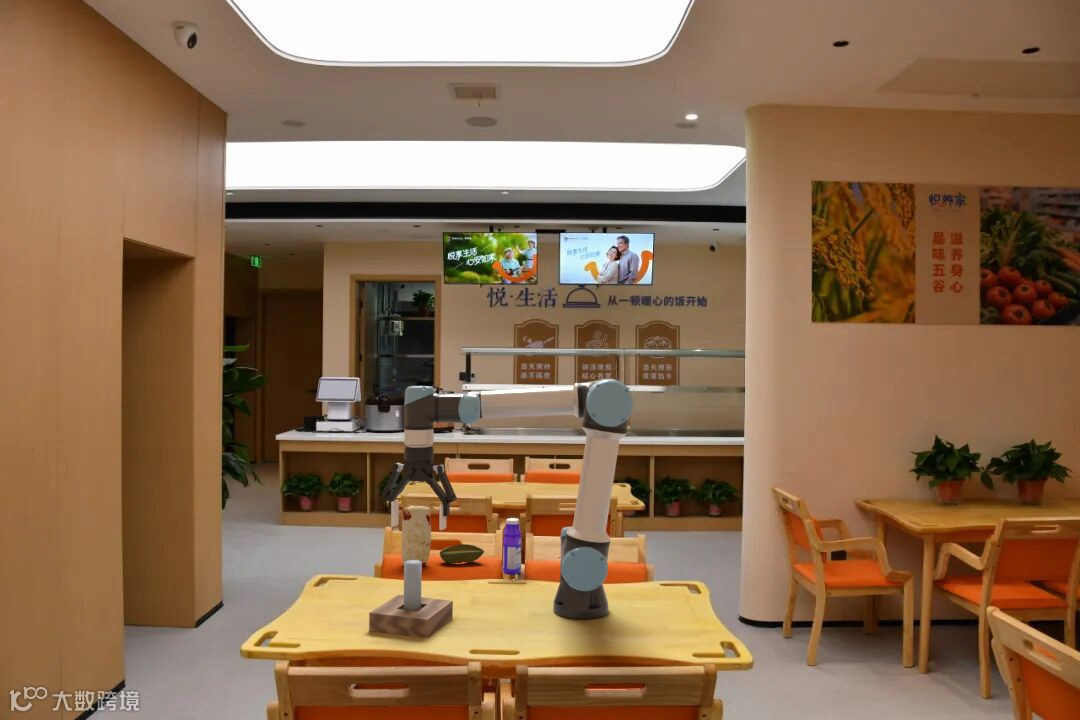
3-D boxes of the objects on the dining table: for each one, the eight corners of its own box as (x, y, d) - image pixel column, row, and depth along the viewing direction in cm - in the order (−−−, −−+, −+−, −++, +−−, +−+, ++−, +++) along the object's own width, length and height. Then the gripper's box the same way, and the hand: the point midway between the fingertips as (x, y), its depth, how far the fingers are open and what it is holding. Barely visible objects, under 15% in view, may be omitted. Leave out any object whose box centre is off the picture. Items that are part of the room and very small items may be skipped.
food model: (399, 567, 257) (400, 506, 257) (402, 562, 263) (403, 503, 263) (429, 568, 257) (430, 507, 257) (431, 562, 263) (432, 503, 263)
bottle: (517, 576, 248) (518, 521, 248) (500, 575, 250) (501, 520, 250) (522, 570, 256) (523, 517, 256) (506, 569, 257) (507, 516, 257)
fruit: (460, 557, 272) (461, 538, 272) (485, 563, 264) (485, 544, 264) (436, 563, 263) (436, 543, 263) (460, 570, 255) (461, 550, 255)
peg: (423, 622, 204) (424, 561, 204) (416, 627, 200) (417, 565, 200) (407, 620, 205) (408, 559, 205) (400, 625, 201) (401, 563, 201)
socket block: (452, 617, 208) (452, 600, 208) (427, 637, 192) (427, 619, 192) (398, 611, 212) (398, 594, 212) (369, 630, 197) (369, 612, 197)
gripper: (469, 445, 203) (468, 527, 203) (382, 442, 210) (382, 521, 210) (458, 448, 196) (457, 533, 196) (368, 445, 203) (368, 527, 203)
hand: (418, 527), depth 203 cm, fingers open, 13 cm apart
